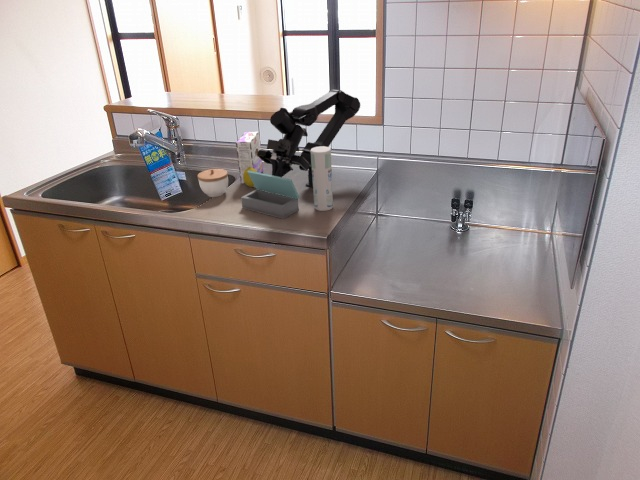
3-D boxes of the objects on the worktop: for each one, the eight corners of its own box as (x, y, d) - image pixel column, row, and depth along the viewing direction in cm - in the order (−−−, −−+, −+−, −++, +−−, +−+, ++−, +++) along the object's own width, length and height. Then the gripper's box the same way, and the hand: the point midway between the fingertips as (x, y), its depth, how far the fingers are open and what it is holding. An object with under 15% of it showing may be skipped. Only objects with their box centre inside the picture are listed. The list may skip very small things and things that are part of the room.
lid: (256, 189, 179) (257, 187, 179) (298, 198, 169) (299, 197, 169) (247, 171, 173) (248, 170, 173) (290, 181, 163) (291, 179, 163)
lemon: (258, 190, 189) (256, 169, 185) (243, 190, 189) (240, 170, 185) (260, 184, 194) (258, 164, 190) (245, 185, 194) (243, 164, 190)
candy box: (249, 171, 208) (244, 131, 200) (263, 171, 207) (259, 131, 199) (240, 183, 196) (234, 141, 188) (255, 183, 195) (250, 141, 187)
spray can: (332, 211, 169) (329, 152, 159) (312, 210, 170) (308, 152, 160) (334, 203, 174) (332, 146, 165) (315, 203, 175) (312, 146, 166)
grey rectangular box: (258, 199, 180) (256, 189, 179) (298, 209, 171) (297, 198, 169) (242, 208, 175) (241, 197, 173) (283, 218, 165) (282, 207, 163)
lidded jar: (197, 200, 183) (193, 175, 179) (204, 188, 193) (200, 165, 189) (227, 198, 183) (224, 173, 179) (232, 187, 193) (229, 163, 188)
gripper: (257, 125, 172) (238, 166, 169) (301, 132, 162) (282, 176, 159) (274, 142, 181) (257, 181, 178) (317, 149, 171) (299, 191, 168)
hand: (273, 182), depth 171 cm, fingers closed, pressing on lid
